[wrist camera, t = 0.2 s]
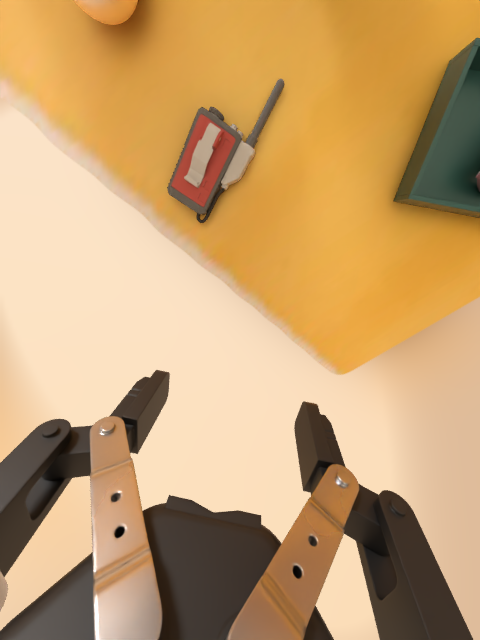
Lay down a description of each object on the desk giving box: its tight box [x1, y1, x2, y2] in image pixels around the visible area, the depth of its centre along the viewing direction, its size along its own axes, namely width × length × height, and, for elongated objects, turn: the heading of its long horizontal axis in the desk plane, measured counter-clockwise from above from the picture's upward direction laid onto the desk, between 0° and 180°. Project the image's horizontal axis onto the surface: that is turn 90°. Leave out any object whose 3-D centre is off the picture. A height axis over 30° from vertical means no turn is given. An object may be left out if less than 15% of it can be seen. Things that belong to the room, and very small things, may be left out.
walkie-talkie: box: [167, 79, 284, 223], centre depth 31 cm, size 9×4×20 cm
